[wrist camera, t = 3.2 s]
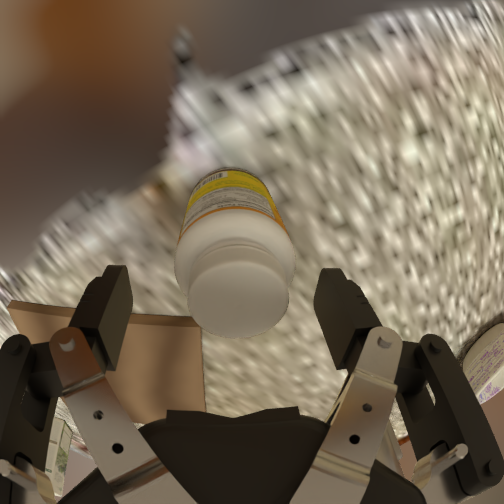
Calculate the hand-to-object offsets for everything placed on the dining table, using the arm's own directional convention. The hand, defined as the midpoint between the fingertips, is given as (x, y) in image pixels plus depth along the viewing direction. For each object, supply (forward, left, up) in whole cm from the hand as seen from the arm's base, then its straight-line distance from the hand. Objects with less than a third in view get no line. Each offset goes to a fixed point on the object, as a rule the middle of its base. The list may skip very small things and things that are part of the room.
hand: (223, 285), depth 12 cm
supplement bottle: (-1, 0, -9) cm, 9 cm away
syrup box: (+29, +40, -9) cm, 50 cm away
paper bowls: (-43, +20, -9) cm, 48 cm away
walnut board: (+11, +20, -8) cm, 24 cm away
